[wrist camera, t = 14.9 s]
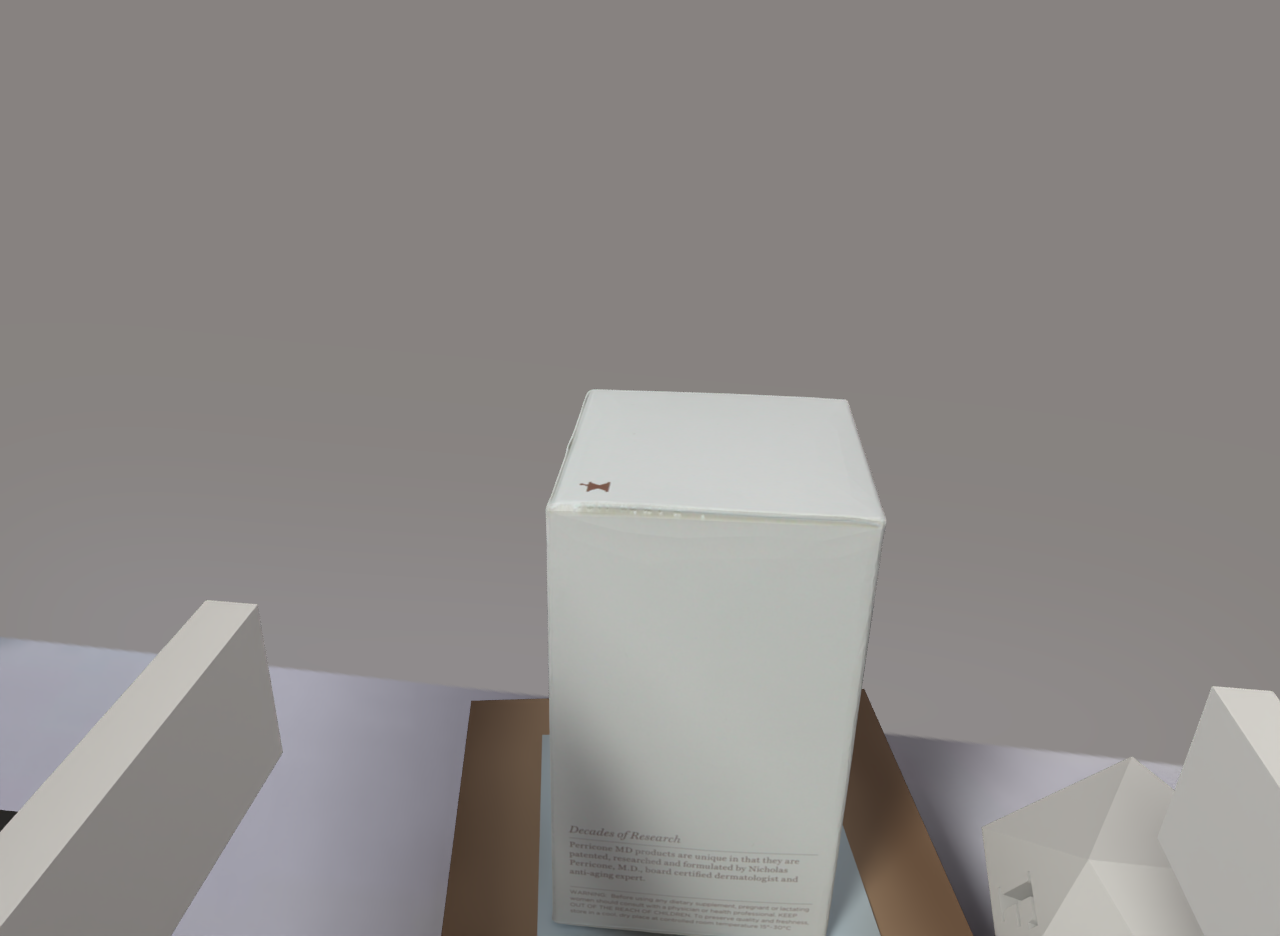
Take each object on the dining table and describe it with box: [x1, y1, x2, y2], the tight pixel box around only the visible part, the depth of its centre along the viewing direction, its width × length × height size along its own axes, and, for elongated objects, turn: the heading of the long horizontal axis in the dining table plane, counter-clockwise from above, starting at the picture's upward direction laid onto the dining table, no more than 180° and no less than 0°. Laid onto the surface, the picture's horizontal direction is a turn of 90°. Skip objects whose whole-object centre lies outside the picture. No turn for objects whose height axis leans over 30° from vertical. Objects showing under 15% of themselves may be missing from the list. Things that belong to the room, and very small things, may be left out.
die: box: [982, 757, 1204, 936], centre depth 29 cm, size 8×9×10 cm
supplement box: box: [546, 389, 886, 936], centre depth 26 cm, size 7×7×13 cm
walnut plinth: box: [441, 689, 973, 936], centre depth 30 cm, size 14×13×6 cm
